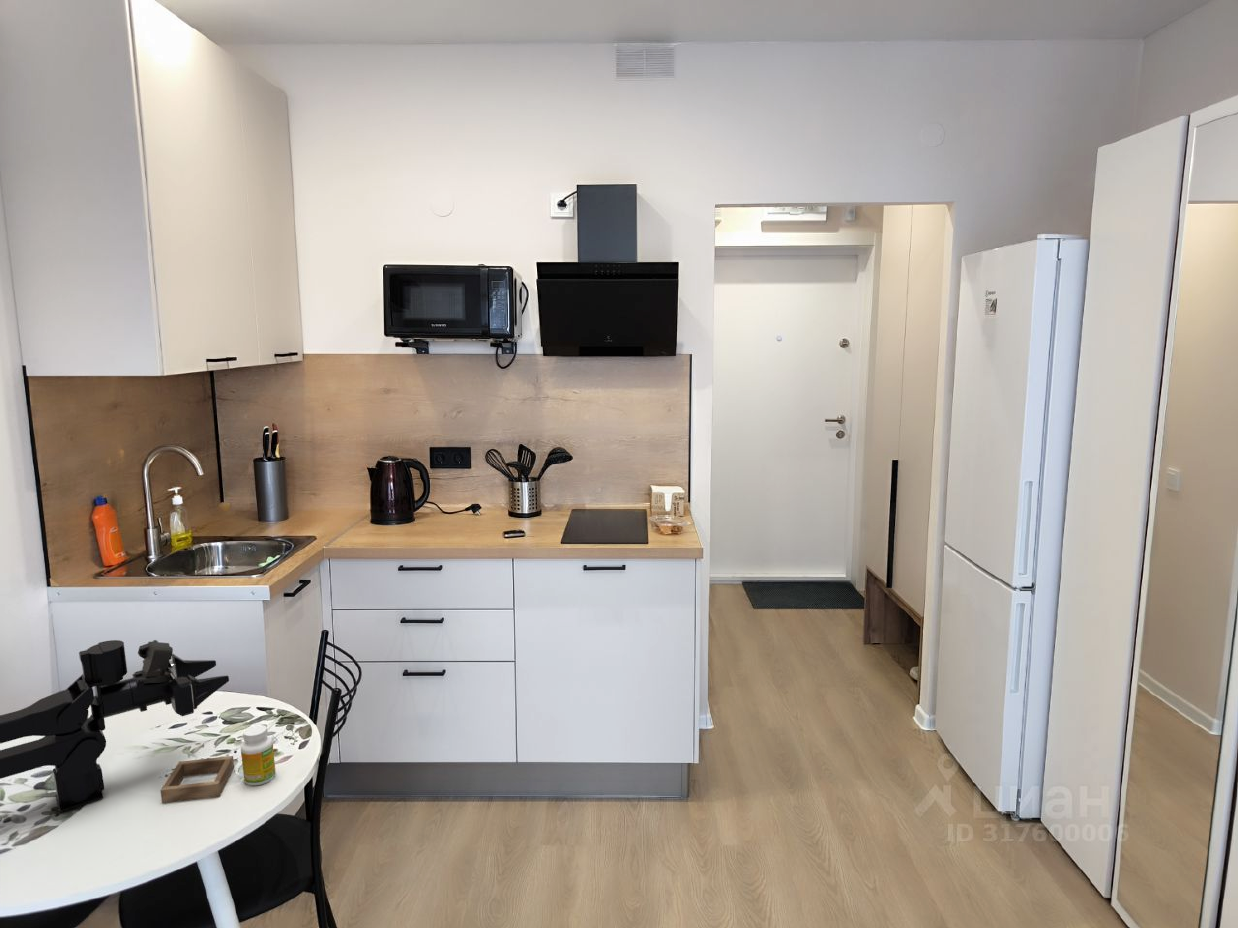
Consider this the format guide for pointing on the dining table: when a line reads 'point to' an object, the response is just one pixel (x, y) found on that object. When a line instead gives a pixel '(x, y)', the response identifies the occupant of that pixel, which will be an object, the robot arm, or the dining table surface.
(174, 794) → the walnut collar
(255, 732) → the supplement bottle
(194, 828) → the dining table surface
